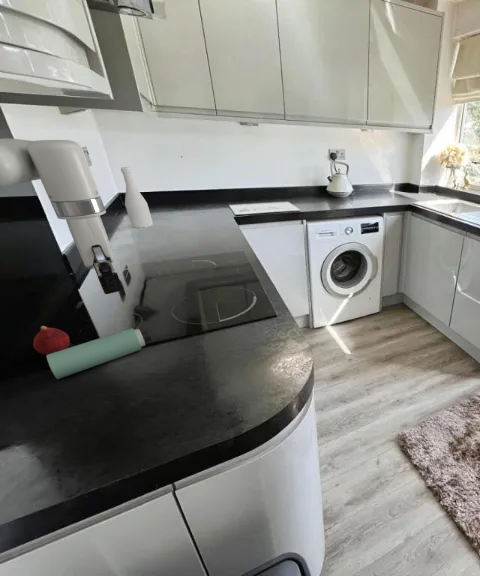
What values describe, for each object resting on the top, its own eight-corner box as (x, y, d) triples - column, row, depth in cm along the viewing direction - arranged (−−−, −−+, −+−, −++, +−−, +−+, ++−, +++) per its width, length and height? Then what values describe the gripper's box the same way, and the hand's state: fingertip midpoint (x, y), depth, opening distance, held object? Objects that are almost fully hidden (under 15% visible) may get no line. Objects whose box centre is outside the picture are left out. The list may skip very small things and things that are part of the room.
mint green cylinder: (58, 384, 68) (47, 362, 65) (56, 371, 71) (45, 350, 69) (155, 348, 79) (148, 329, 76) (149, 339, 82) (142, 320, 80)
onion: (79, 345, 80) (66, 317, 76) (67, 360, 75) (52, 331, 71) (50, 349, 78) (35, 321, 74) (35, 364, 73) (18, 335, 69)
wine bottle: (149, 227, 172) (131, 168, 159) (129, 228, 170) (109, 168, 157) (156, 223, 181) (139, 166, 167) (137, 224, 179) (118, 166, 165)
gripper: (53, 203, 68) (85, 277, 75) (55, 218, 57) (93, 304, 64) (98, 199, 72) (124, 269, 80) (109, 212, 61) (138, 292, 69)
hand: (111, 284), depth 72 cm, fingers open, 9 cm apart
